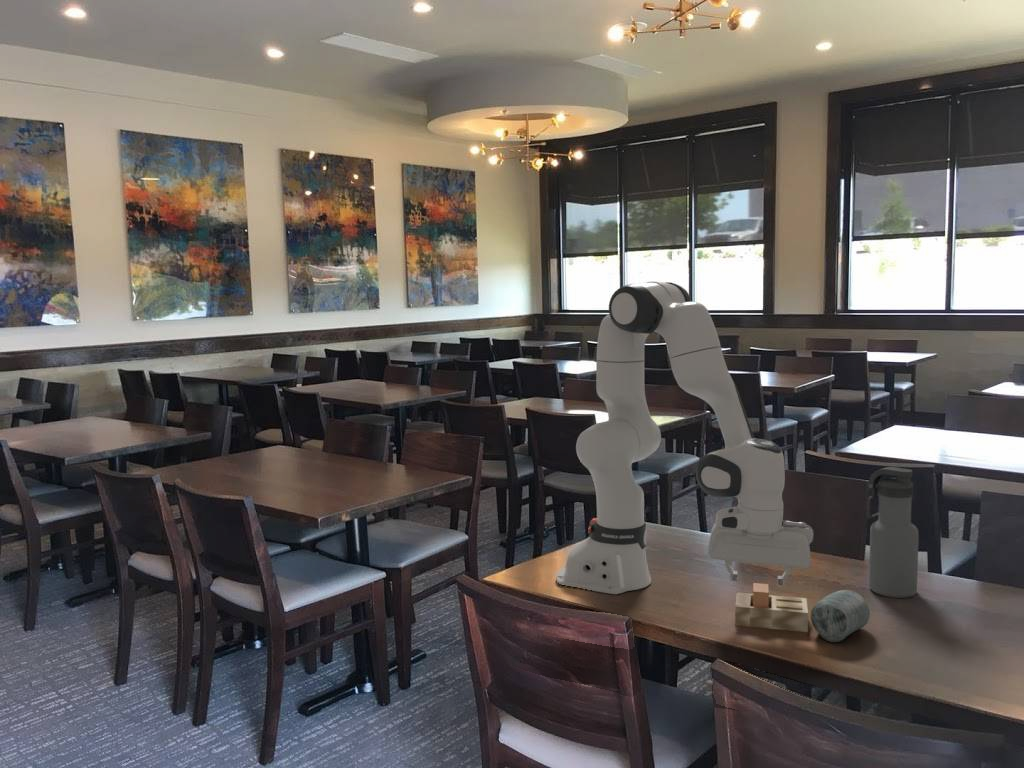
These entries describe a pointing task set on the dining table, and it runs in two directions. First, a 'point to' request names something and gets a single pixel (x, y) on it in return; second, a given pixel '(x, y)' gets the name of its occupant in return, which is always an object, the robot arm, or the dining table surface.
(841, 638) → the spool
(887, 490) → the water bottle
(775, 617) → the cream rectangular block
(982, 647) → the dining table surface
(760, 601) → the orange rectangular block
